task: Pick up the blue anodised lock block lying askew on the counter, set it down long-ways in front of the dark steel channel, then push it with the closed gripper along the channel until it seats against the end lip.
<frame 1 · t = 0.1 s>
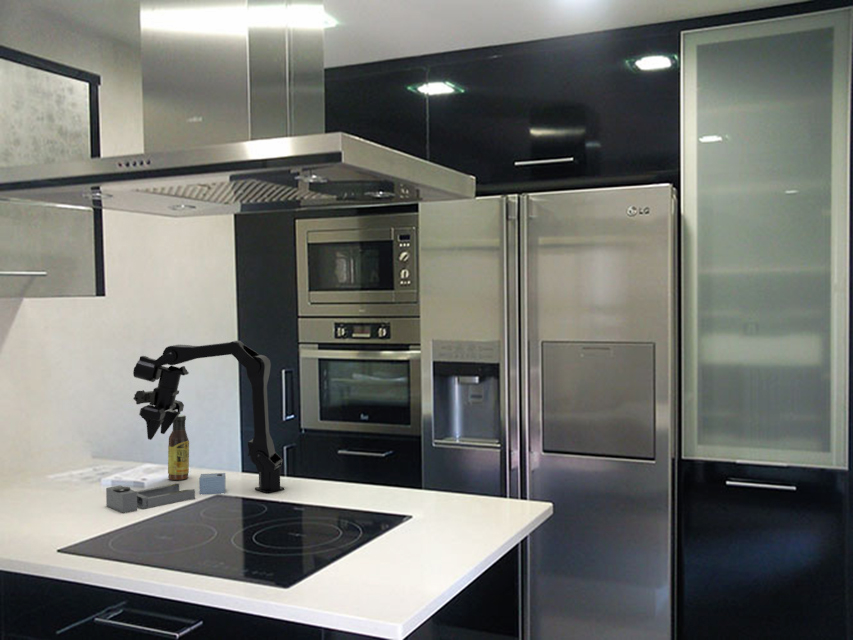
hand: (156, 436, 236), 15 cm above the worktop, tool pointing down, fingers open, 9 cm apart
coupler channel: (151, 502, 220), on the worktop
lock block: (212, 492, 232), on the worktop
sauce bottle: (178, 479, 248), on the worktop
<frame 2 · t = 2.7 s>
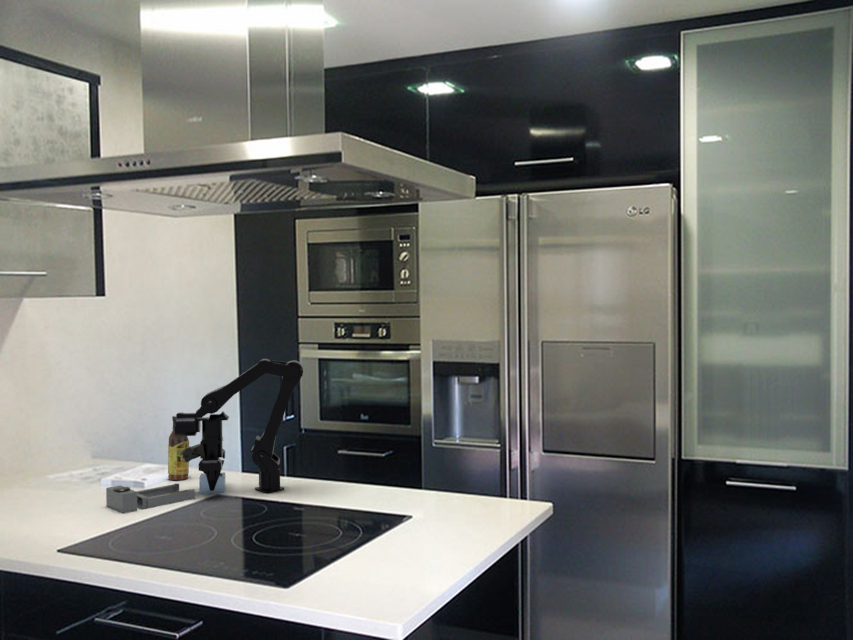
hand: (212, 488, 232), 1 cm above the worktop, tool pointing down, fingers closed on lock block, 5 cm apart
lock block: (212, 491, 232), on the worktop, touching gripper
everything else where it was.
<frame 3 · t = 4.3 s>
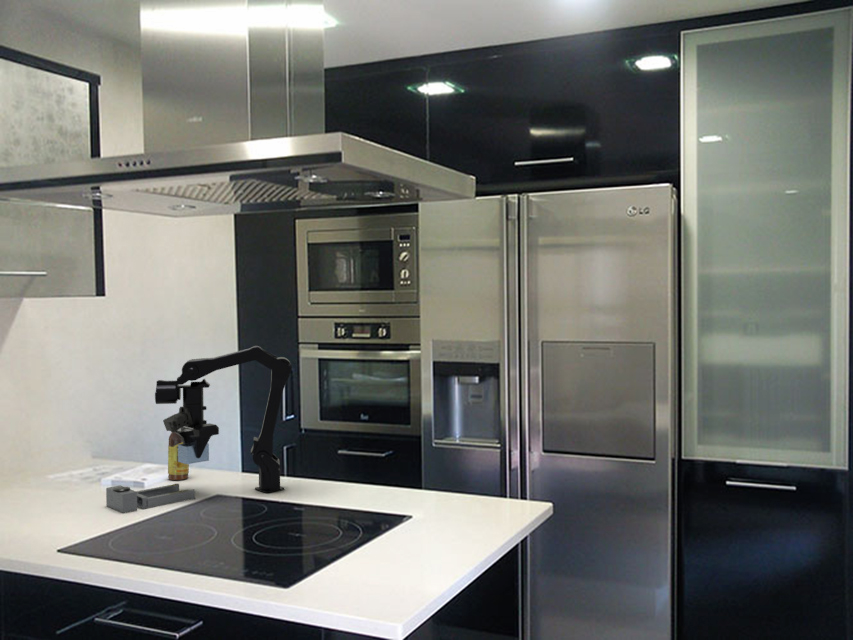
hand: (193, 456, 229), 11 cm above the worktop, tool pointing down, fingers closed on lock block, 5 cm apart
lock block: (193, 461, 229), point 10 cm above the worktop, touching gripper
everything else where it was.
when the fingers open (2 cm above the worktop, at t = 6.2 s): lock block stays where it is, on the worktop.
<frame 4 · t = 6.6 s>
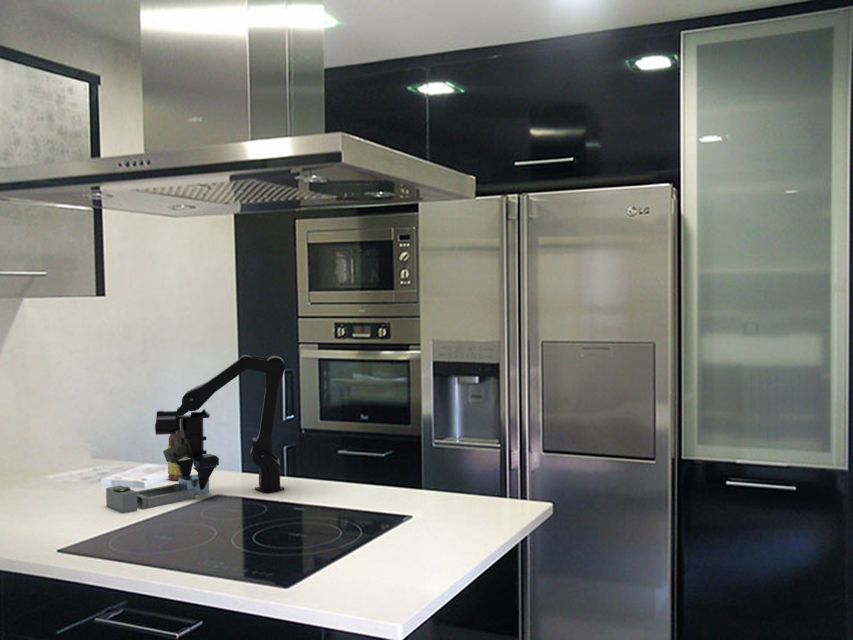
hand: (193, 486, 230), 2 cm above the worktop, tool pointing down, fingers open, 9 cm apart
lock block: (193, 494, 230), on the worktop
everything else where it was.
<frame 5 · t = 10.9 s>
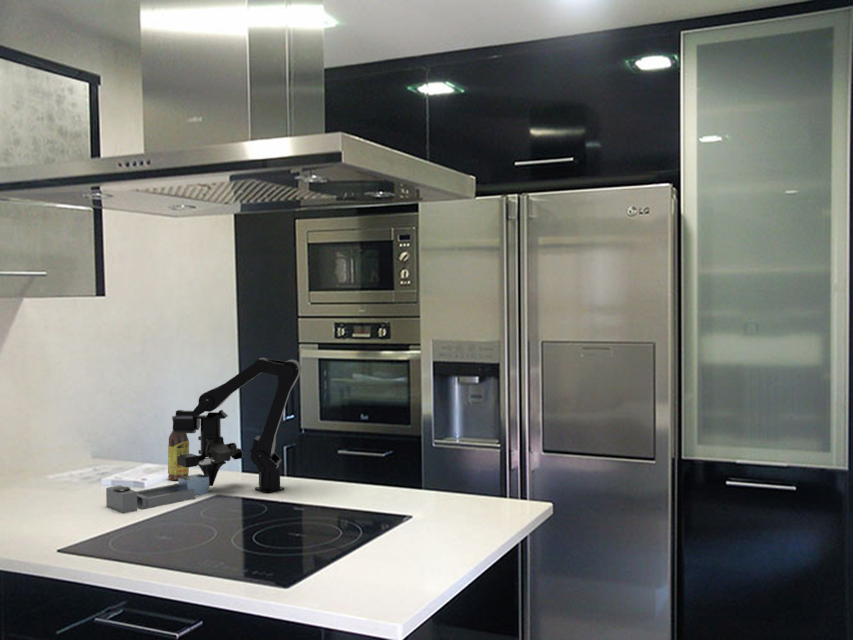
hand: (210, 485, 234), 1 cm above the worktop, tool pointing down, fingers closed
lock block: (193, 494, 230), on the worktop, touching gripper
everything else where it was.
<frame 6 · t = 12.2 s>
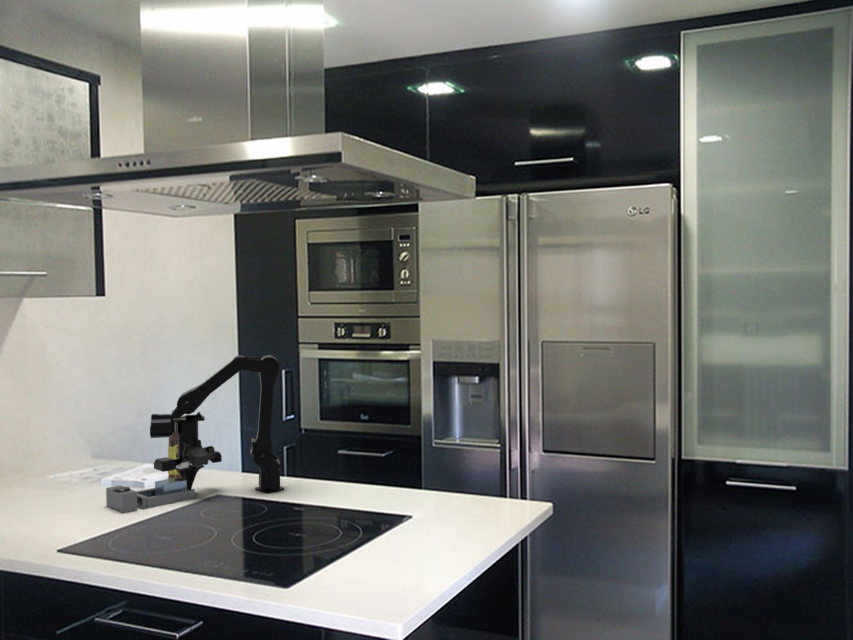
hand: (188, 489, 229), 1 cm above the worktop, tool pointing down, fingers closed
lock block: (171, 498, 224), on the worktop, touching gripper
everything else where it was.
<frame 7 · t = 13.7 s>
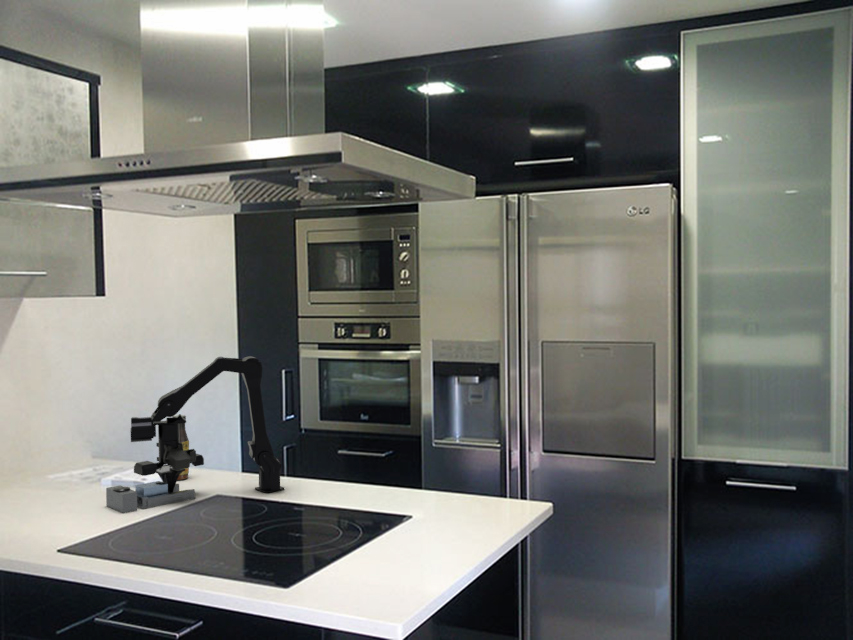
hand: (170, 494, 224), 1 cm above the worktop, tool pointing down, fingers closed
lock block: (151, 502, 220), on the worktop, touching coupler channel, gripper
everything else where it was.
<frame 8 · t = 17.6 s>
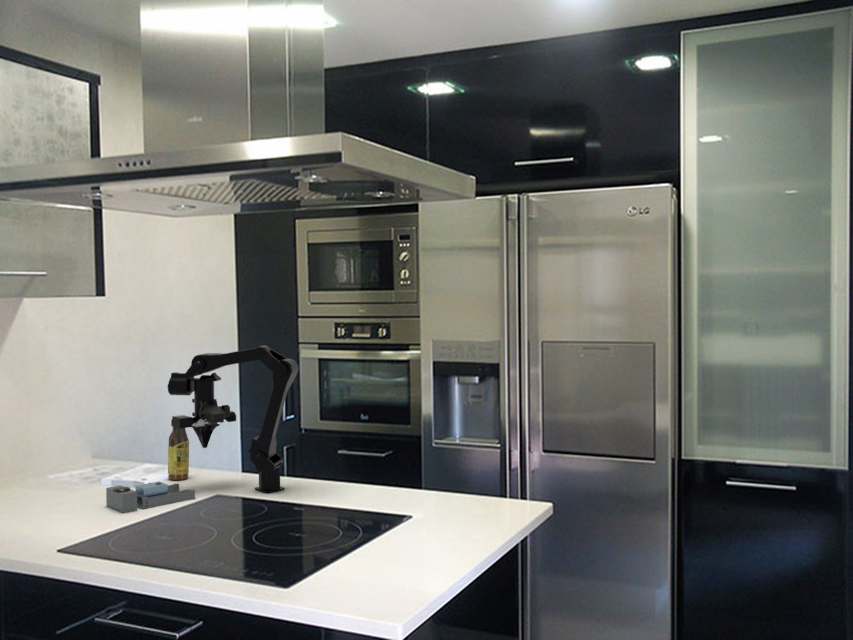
hand: (204, 447, 236), 12 cm above the worktop, tool pointing down, fingers closed
lock block: (151, 502, 220), on the worktop
everything else where it was.
at the end: lock block 0.2 cm from the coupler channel (horizontally); lock block tilted 0°; lock block on the worktop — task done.
